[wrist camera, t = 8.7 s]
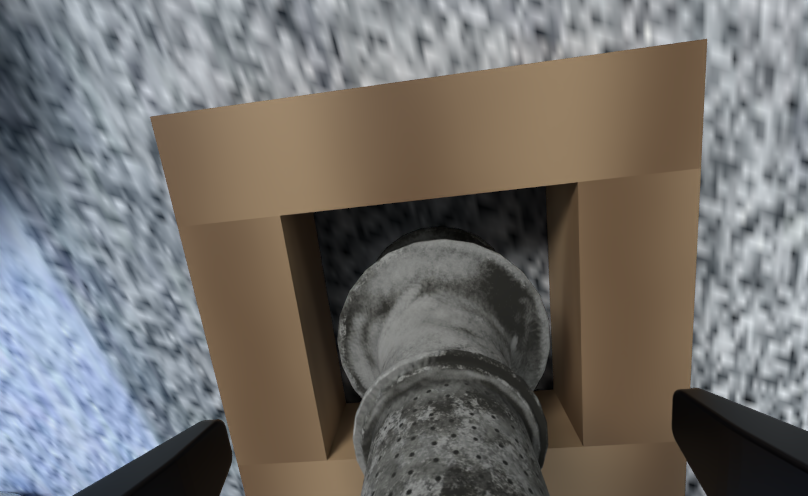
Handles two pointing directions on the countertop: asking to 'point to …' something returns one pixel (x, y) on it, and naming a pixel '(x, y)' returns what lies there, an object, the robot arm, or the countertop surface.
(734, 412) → the robot arm
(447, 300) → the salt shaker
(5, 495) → the soda can
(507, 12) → the countertop surface
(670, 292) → the socket block
